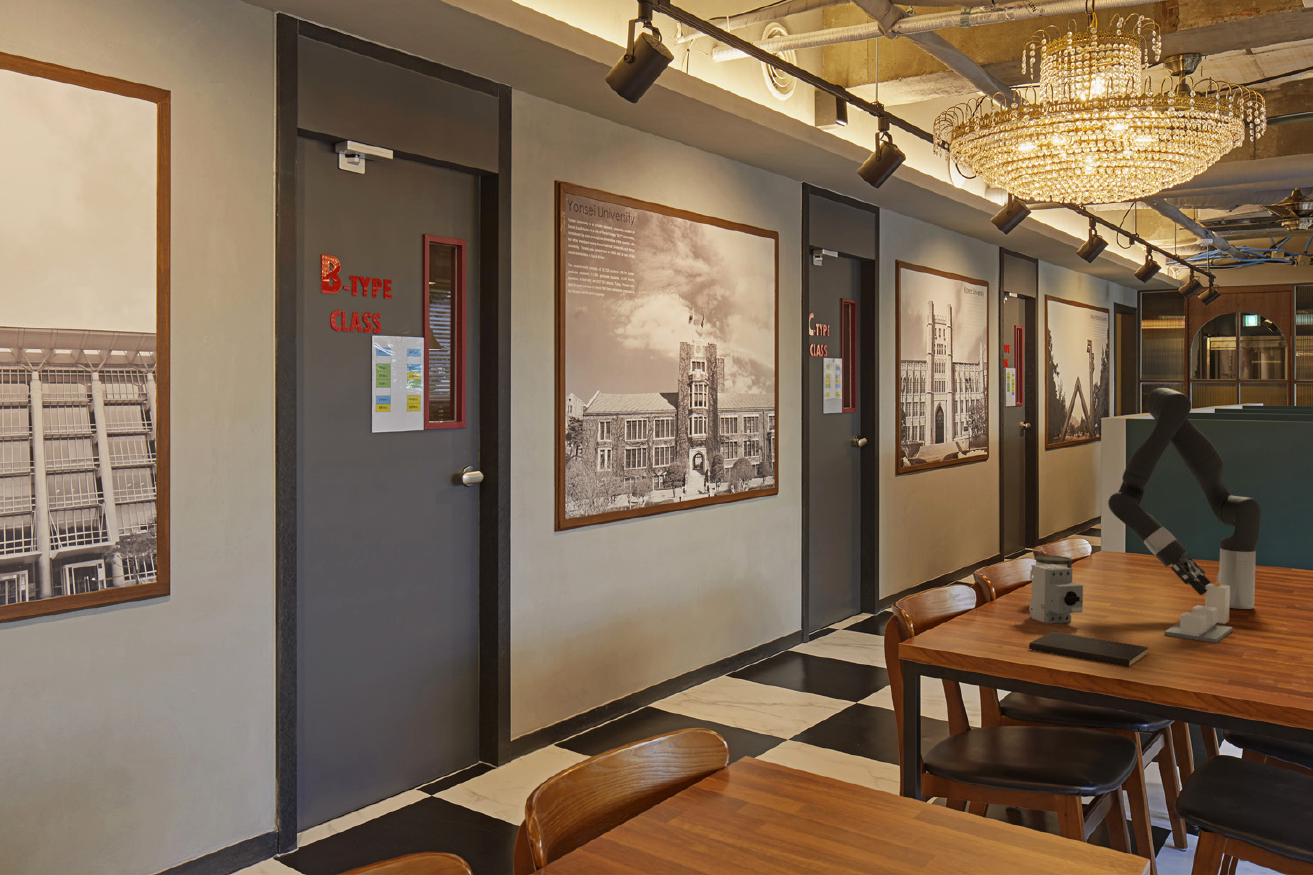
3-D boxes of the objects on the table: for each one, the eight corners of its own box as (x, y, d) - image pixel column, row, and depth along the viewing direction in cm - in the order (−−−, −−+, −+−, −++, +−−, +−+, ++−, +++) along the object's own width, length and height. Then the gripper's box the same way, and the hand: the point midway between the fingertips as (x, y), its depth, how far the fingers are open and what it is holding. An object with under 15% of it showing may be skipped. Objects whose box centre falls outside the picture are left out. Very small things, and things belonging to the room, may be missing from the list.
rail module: (1208, 617, 274) (1210, 579, 274) (1228, 620, 271) (1230, 582, 271) (1204, 620, 271) (1205, 582, 270) (1224, 623, 267) (1225, 584, 267)
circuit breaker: (1062, 628, 260) (1064, 573, 259) (1029, 617, 274) (1030, 564, 273) (1086, 627, 262) (1087, 572, 261) (1051, 615, 276) (1052, 563, 275)
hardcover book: (1051, 640, 249) (1051, 631, 249) (1148, 656, 234) (1148, 646, 234) (1028, 651, 237) (1029, 642, 237) (1128, 669, 222) (1129, 659, 222)
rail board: (1182, 623, 267) (1183, 602, 266) (1232, 630, 259) (1232, 609, 258) (1164, 635, 253) (1165, 613, 253) (1216, 643, 245) (1216, 620, 245)
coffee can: (1053, 599, 299) (1054, 554, 298) (1078, 606, 289) (1080, 559, 289) (1027, 601, 295) (1028, 556, 294) (1052, 608, 285) (1053, 561, 285)
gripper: (1168, 540, 272) (1212, 586, 265) (1182, 536, 283) (1225, 579, 275) (1147, 557, 276) (1190, 602, 269) (1161, 552, 287) (1203, 595, 279)
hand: (1208, 591), depth 272 cm, fingers open, 8 cm apart
